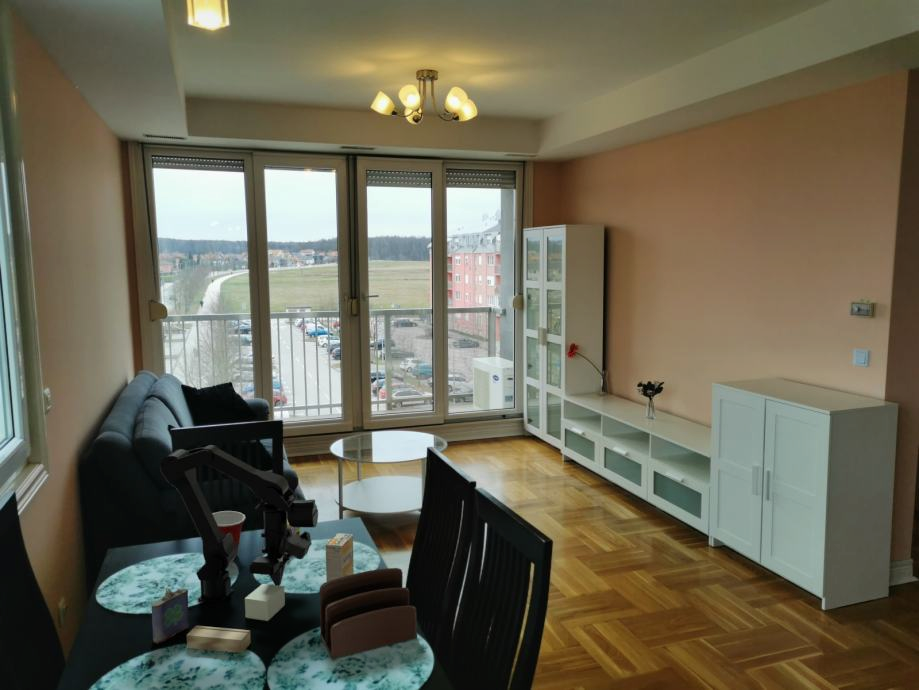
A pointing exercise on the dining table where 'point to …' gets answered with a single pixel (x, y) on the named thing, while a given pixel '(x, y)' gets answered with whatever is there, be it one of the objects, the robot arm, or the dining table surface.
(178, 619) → the flask
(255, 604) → the block
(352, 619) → the letter holder
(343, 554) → the supplement box
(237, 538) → the plastic cup
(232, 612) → the dining table surface
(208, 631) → the wooden bar
